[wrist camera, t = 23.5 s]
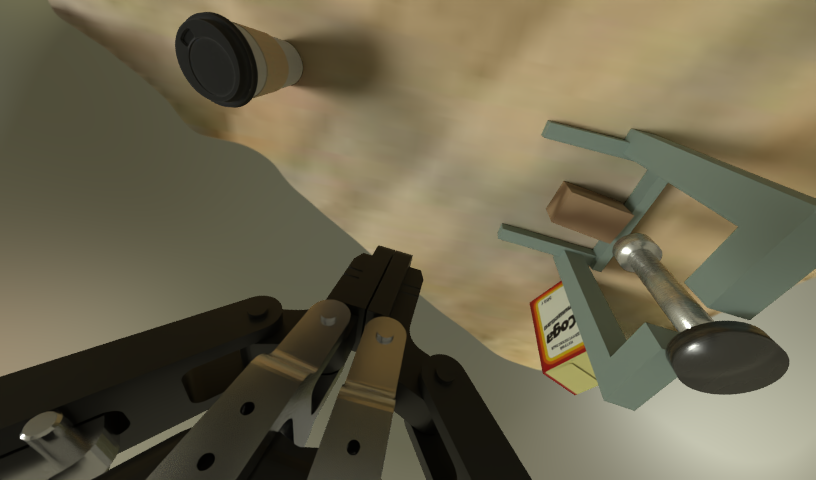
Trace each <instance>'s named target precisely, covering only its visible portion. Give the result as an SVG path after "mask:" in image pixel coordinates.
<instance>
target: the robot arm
mask: <svg viewBox="0 0 816 480" xmlns="http://www.w3.org/2000/svg"><path fill="white" fill-rule="evenodd" d="M412 256H413V255H410V254H406V253H403V252H400V251H396V252H395V250H393V249H389V248H386V247H383V246H378V247H377V248H376V250H375V252H374V254H373V255H368V254H365V253H363V254H361V255H359V256H357V257H356V258H354V259H353V261H352V262H351V264H350V265H349V267H348V268H347V270H346V271H345V273H344V275H343V276H342V277H341V278H340V280H339V281H338V283H337V284H336V286H335V287H334V289H333V290H332V292H331V293H330V295H329V296H328V298H327V299H326V300H323V301H320V302H317V303H316V304H314V305H313V306H312V307H311V308H310V309H308V310H283V309H282V305H281V303H280V302H279V301H278V300H277V299H275V298H273V297H269V296H256V297H252V298H249V299H245V300H242V301H239V302H236V303H233V304H229V305H226V306H223V307H220V308H217V309H214V310H210V311H207V312H204V313H201V314H198V315H195V316H191V317H188V318H185V319H182V320H179V321H176V322H172V323H169V324H166V325H163V326H160V327H157V328H153V329H150V330H147V331H144V332H141V333H138V334H134V335H131V336H128V337H125V338H122V339H118V340H115V341H112V342H109V343H106V344H103V345H99V346H96V347H93V348H90V349H87V350H84V351H80V352H77V353H74V354H71V355H68V356H65V357H61V358H58V359H55V360H52V361H49V362H46V363H43V364H39V365H36V366H33V367H30V368H27V369H23V370H20V371H17V372H14V373H11V374H8V375H5V376H1V377H0V480H381V475H382V470H383V465H384V460H385V455H386V449H387V444H388V439H389V434H390V428H391V423H392V418H393V413H394V411H395V412H396V413H397V414H398V415H400V416H401V417H402V418H403V419H404V422H405V426H406V429H407V432H408V434H409V437H410V439H411V441H412V444H413V447H414V449H415V452H416V455H417V457H418V459H419V462H420V465H421V467H422V470H423V472H424V475H425V477H426V480H532V479H531V477H530V476H529V474H528V473H527V471H526V470H525V468H524V466H523V465H522V463H521V462H520V460H519V458H518V456H517V455H516V453H515V451H514V450H513V448H512V447H511V445H510V443H509V442H508V440H507V439H506V437H505V435H504V434H503V432H502V430H501V429H500V427H499V425H498V424H497V422H496V421H495V419H494V417H493V416H492V414H491V412H490V411H489V409H488V408H487V406H486V404H485V403H484V401H483V400H482V398H481V396H480V395H479V393H478V392H477V390H476V388H475V386H474V385H473V383H472V382H471V380H470V378H469V377H468V375H467V373H466V372H465V370H464V369H463V367H462V366H461V365H460V364H459V363H458V362H457V361H456V360H455V359H453V358H452V357H449V356H447V355H442V354H437V355H432V356H429V355H428V354H426V353H425V352H423V351H422V350H421V349H419V348H418V347H417V346H416V345H415V344H414V342H413V341H412V339H411V336H410V331H409V330H410V324H411V320H412V317H413V314H414V310H415V307H416V303H417V300H418V297H419V293H420V290H421V286H422V283H423V276H422V273H421V270H418V269H415V268H411V267H410V264H411V261H412ZM351 350H352V351H355V352H356V354H355V357H354V360H353V362H352V365H351V368H350V371H349V374H348V376H347V379H346V381H345V384H343V385H342V387H341V389H340V391H339V394H338V396H337V399H336V402H335V404H334V407H333V410H332V413H331V415H330V418H329V421H328V423H327V426H326V429H325V432H324V434H323V437H322V440H321V442H320V445H319V448H310V447H308V448H307V447H304V446H305V444H306V442H307V440H308V438H309V435H310V432H311V429H312V426H313V424H314V421H315V419H316V417H317V415H318V414H319V412H320V410H321V409H322V407H323V405H324V403H325V401H326V399H327V398H328V396H329V394H330V392H331V391H332V389H333V387H334V385H335V384H336V382H337V380H338V378H339V377H340V375H341V373H342V371H343V369H344V366H345V362H346V360H347V358H348V356H349V354H350V352H351ZM206 410H208V411H207V412H206V413H205V414H204V415H203V416H202V417H201V419H200V420H199V421H198V422H197V423H196V424H195V425H194V426H193V427H192V428H189V429H187V430H184V431H182V432H180V433H178V434H176V435H174V436H172V437H170V438H168V439H166V440H165V441H163V442H161V443H159V444H157V445H155V446H153V447H151V448H150V449H148V450H146V451H144V452H142V453H140V454H138V455H136V456H135V457H133V458H131V459H129V460H127V461H125V462H123V463H122V464H120V465H118V466H116V467H114V468H112V469H110V470H109V468H110V465H111V463H112V462H113V460H114V459H115V457H116V455H117V454H118V453H120V452H123V451H125V450H127V449H129V448H131V447H133V446H135V445H137V444H139V443H141V442H143V441H145V440H147V439H149V438H151V437H153V436H155V435H157V434H159V433H161V432H163V431H165V430H167V429H170V428H172V427H174V426H176V425H178V424H180V423H182V422H184V421H186V420H188V419H190V418H192V417H194V416H196V415H198V414H200V413H202V412H204V411H206Z"/></svg>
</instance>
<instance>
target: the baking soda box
mask: <svg viewBox="0 0 816 480" xmlns="http://www.w3.org/2000/svg"><path fill="white" fill-rule="evenodd" d="M530 307H531V312H532V318H533V323H534V328H535V334H536V339H537V345H538V350H539V355H540V361H541V366H542V371H543V374H545V375H546V376H547V377H549V378H550V379H552V380H553V381H555V382H556V383H558V384H559V385H561V386H562V387H563V388H565V389H566V390H568V391H569V392H571V393H572V394H574V395H577V394H579V393H581V392H584V391H586V390H588V389H591V388H593V387H595V386H598V382H597V380H596V377H595V374H594V371H593V368H592V365H591V363H590V360H589V357H588V354H587V351H586V349H585V346H584V343H583V340H582V337H581V334H580V332H579V329H578V326H577V323H576V320H575V317H574V315H573V312H572V309H571V306H570V303H569V301H568V298H567V295H566V292H565V289H564V286H563V284H562V281H560V282H559V283H557V284H556V285H555V286H553V287H552V288H550V289H549V290H547V291H546V292H545V293H543V294H542V295H540V296H539V297H537V298H536V299H535V300H533V301H532V302H530Z"/></svg>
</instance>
